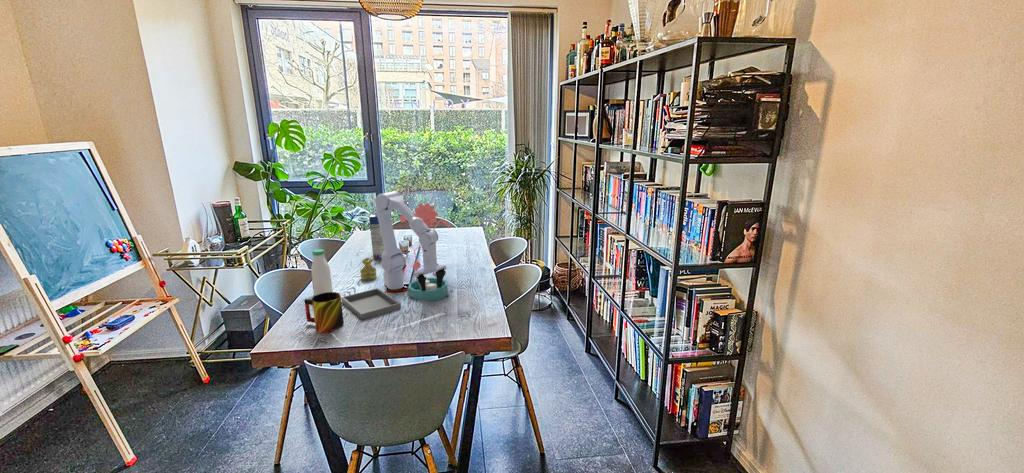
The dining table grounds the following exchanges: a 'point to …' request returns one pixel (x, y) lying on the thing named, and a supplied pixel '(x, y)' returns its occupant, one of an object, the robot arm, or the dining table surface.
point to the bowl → (428, 294)
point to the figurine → (428, 218)
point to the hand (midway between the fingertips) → (431, 288)
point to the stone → (431, 286)
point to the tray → (370, 303)
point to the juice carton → (376, 237)
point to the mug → (325, 311)
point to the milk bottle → (320, 273)
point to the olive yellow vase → (368, 270)
